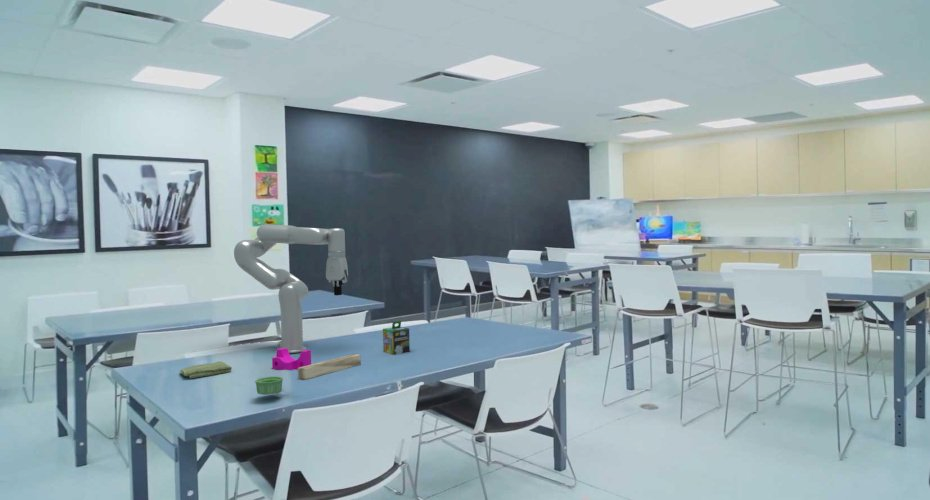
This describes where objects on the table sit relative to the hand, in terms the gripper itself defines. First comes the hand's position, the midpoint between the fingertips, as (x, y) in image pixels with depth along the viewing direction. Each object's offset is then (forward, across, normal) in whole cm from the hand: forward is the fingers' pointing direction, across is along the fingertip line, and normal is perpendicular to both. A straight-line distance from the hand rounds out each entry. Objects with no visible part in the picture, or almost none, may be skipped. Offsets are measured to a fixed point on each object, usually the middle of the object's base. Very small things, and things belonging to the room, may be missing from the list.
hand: (337, 295), depth 262 cm
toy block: (+28, +4, -31) cm, 42 cm away
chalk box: (+27, +23, +13) cm, 38 cm away
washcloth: (+28, -22, -53) cm, 63 cm away
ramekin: (+28, +27, -61) cm, 72 cm away
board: (+27, +23, -28) cm, 45 cm away
